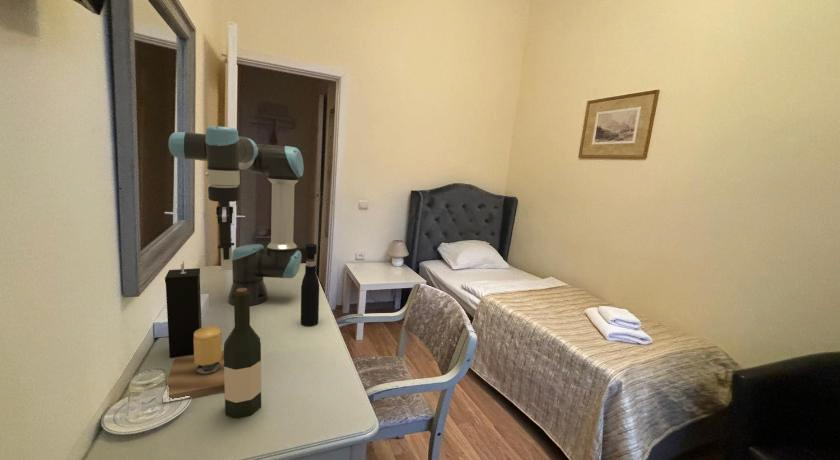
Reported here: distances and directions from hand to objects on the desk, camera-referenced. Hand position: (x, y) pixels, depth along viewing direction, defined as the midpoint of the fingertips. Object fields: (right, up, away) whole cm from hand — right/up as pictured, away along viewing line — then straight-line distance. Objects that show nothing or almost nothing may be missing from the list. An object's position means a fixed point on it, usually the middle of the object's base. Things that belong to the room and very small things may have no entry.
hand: (227, 269), depth 101 cm
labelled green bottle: (+12, -32, -14) cm, 37 cm away
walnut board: (-3, -29, -3) cm, 29 cm away
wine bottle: (+13, -24, +33) cm, 43 cm away
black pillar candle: (-17, -26, +9) cm, 32 cm away
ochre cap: (-3, -24, -4) cm, 25 cm away
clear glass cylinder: (-3, -27, -3) cm, 27 cm away
